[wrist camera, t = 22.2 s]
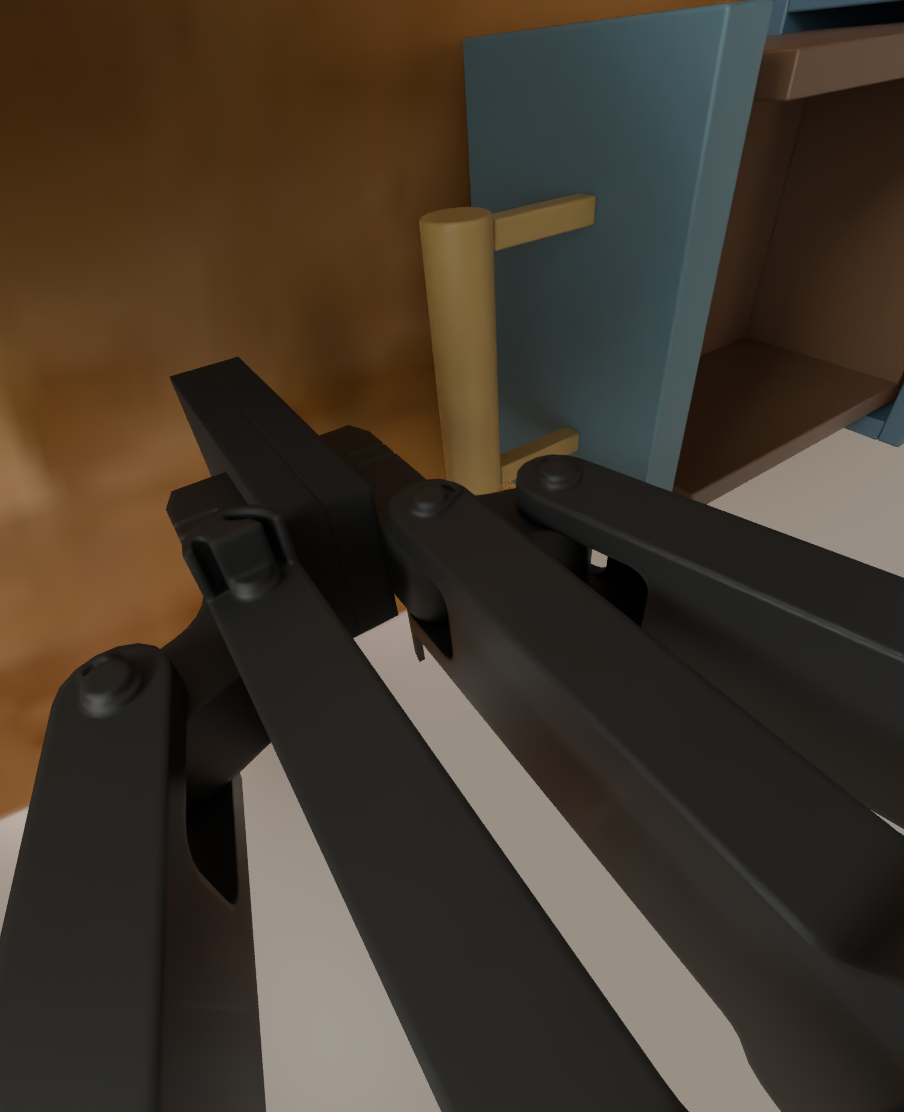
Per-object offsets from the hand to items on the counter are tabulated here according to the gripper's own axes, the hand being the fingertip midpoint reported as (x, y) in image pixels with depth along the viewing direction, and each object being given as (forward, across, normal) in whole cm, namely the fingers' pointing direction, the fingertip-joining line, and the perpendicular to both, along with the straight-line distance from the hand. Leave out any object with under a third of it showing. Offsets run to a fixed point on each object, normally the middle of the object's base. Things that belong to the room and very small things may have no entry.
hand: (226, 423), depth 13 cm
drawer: (+3, +14, 0) cm, 14 cm away
